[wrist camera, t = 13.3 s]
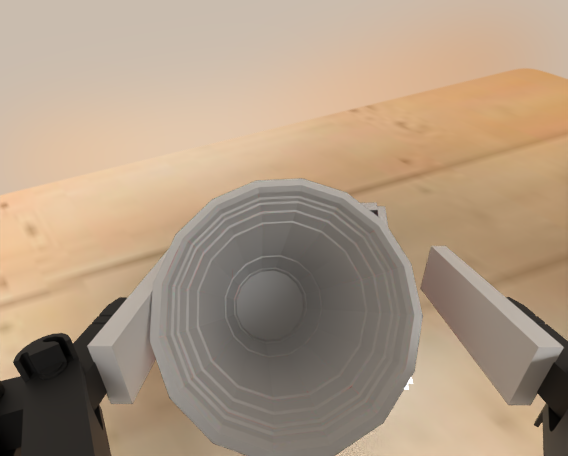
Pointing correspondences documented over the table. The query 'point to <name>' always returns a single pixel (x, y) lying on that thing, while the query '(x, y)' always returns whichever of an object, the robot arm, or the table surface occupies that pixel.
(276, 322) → the plastic cup
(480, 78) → the table surface
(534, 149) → the table surface
